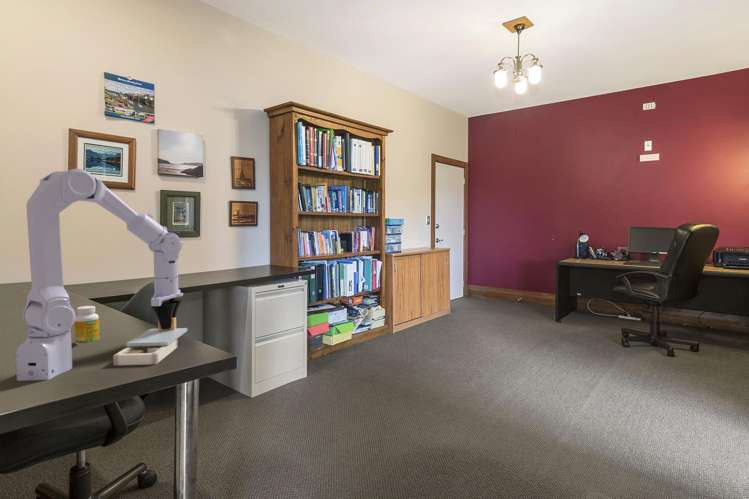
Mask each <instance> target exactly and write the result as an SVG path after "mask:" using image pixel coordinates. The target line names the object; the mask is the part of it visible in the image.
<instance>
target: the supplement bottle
mask: <svg viewBox="0 0 749 499" xmlns="http://www.w3.org/2000/svg"><path fill="white" fill-rule="evenodd" d="M76 312H77V315H76V318H75V322H74V324H73V325H74V343H75V345H77V346H79V345H82V344H83V343H85V344H86V343H91V342H95V341H96V342H97V341H98V340H100V318H99V317H100V316H99V314H97V313H96V306H95V305H84V306H78V307H77V309H76Z"/></svg>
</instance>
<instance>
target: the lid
mask: <svg viewBox="0 0 749 499" xmlns="http://www.w3.org/2000/svg"><path fill="white" fill-rule="evenodd" d="M157 319H158V318H157ZM157 323H158V324H157V326H158V328H150V329H148V330H146V331H144V332H143V333H141V334H140V335H137V336H136V337H134V338H132V339H131V340H129V341H127V342H125V347H128V346H164V345H169V344H170V343H172V342H173V341H174V340H176V339H177V338H178V339H179V338H180V337H181V336H182V335H184V334H185V333H186V332H188V327H183V328H182V327H180V328H179V327H178V328H177V317H175V318H172V324H171V328H170V329H161V326H160V323H159V319H158V322H157Z"/></svg>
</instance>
